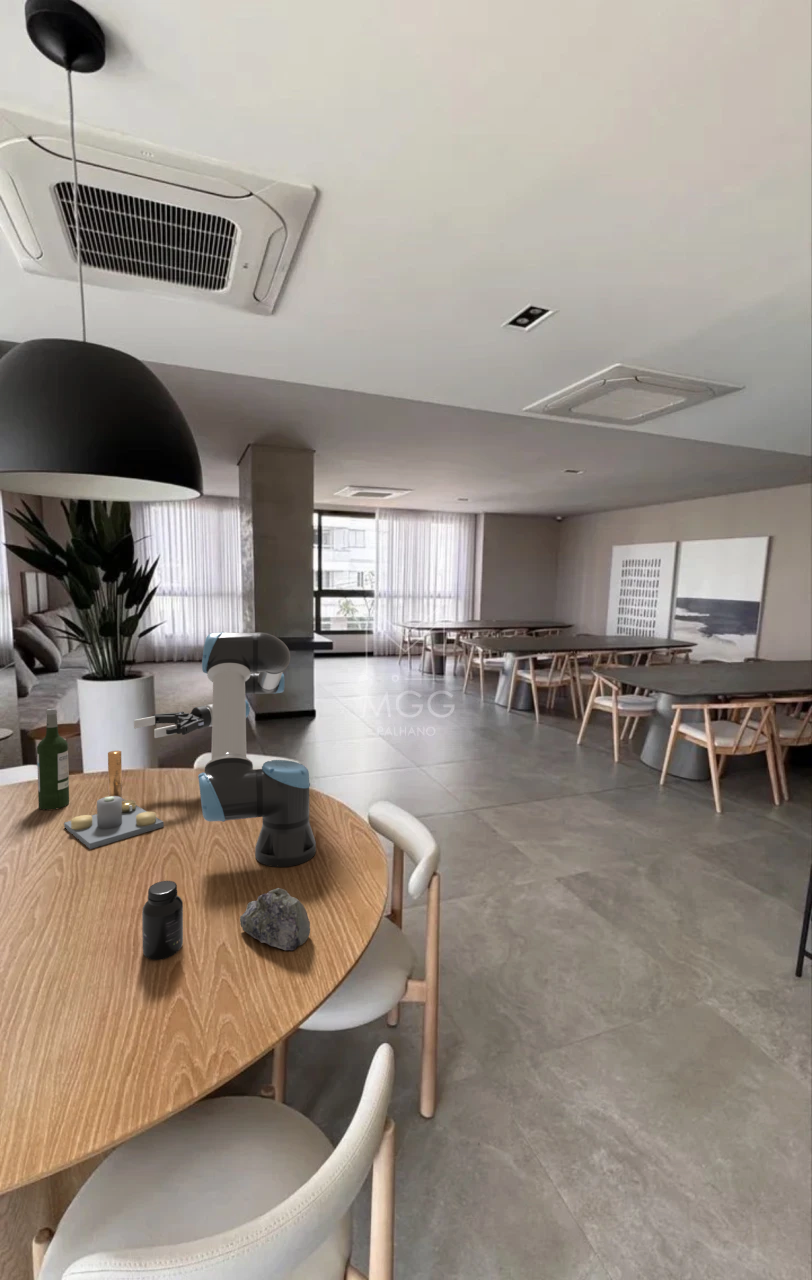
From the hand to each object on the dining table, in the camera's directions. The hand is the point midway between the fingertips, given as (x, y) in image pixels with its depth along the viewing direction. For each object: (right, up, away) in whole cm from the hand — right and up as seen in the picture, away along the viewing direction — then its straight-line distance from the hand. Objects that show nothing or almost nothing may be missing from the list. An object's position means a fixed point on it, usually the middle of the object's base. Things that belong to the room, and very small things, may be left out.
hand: (144, 728), depth 170 cm
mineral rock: (+57, -30, -65) cm, 91 cm away
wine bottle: (-26, -23, -3) cm, 35 cm away
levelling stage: (0, -25, -18) cm, 31 cm away
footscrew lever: (-3, -22, -7) cm, 23 cm away
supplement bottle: (+37, -29, -70) cm, 85 cm away
